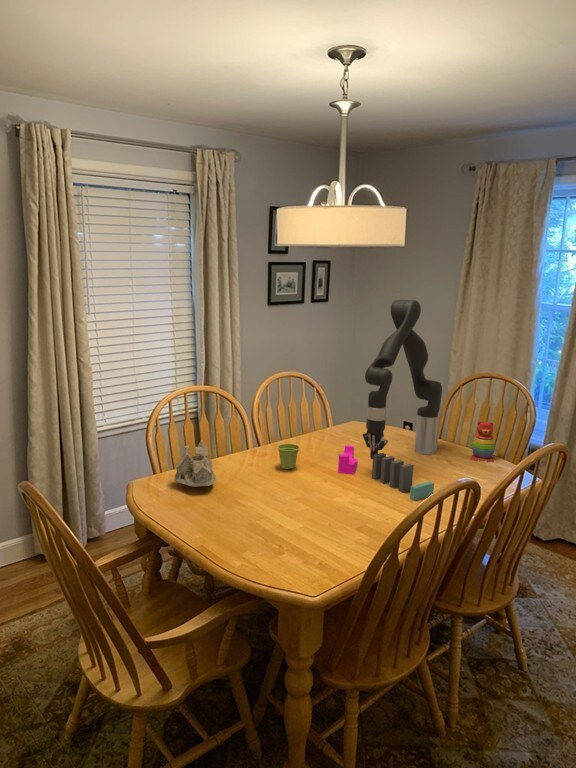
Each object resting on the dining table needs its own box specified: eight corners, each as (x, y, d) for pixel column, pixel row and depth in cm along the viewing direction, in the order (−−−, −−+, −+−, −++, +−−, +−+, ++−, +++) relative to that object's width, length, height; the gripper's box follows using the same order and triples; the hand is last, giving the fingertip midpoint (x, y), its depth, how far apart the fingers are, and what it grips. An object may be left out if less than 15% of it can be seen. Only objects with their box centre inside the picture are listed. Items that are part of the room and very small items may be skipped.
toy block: (353, 475, 228) (354, 457, 227) (338, 473, 230) (338, 455, 228) (359, 463, 242) (359, 446, 241) (344, 461, 244) (345, 445, 242)
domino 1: (371, 478, 224) (373, 454, 222) (380, 476, 227) (382, 452, 225) (374, 480, 223) (376, 456, 220) (384, 477, 225) (386, 454, 223)
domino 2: (380, 482, 220) (381, 458, 218) (389, 479, 223) (391, 456, 221) (383, 483, 219) (385, 459, 217) (393, 481, 222) (394, 457, 220)
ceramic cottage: (176, 474, 223) (175, 438, 220) (217, 474, 224) (217, 438, 221) (169, 489, 208) (168, 450, 205) (213, 490, 209) (213, 451, 206)
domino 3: (389, 486, 216) (390, 461, 214) (398, 484, 219) (400, 459, 217) (392, 488, 215) (394, 463, 213) (402, 485, 218) (404, 461, 216)
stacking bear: (468, 462, 246) (472, 423, 243) (469, 455, 256) (473, 418, 252) (494, 466, 243) (498, 426, 239) (495, 459, 252) (499, 420, 248)
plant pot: (273, 468, 233) (273, 448, 231) (282, 461, 241) (282, 442, 240) (294, 472, 229) (294, 451, 228) (302, 464, 238) (302, 445, 236)
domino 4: (398, 490, 212) (400, 465, 210) (407, 488, 215) (409, 463, 213) (402, 492, 211) (404, 467, 209) (411, 490, 214) (413, 465, 212)
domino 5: (429, 494, 210) (409, 499, 205) (430, 481, 209) (410, 486, 204) (433, 495, 209) (413, 501, 203) (434, 483, 208) (414, 488, 202)
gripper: (394, 420, 219) (392, 462, 223) (372, 412, 230) (369, 453, 233) (380, 422, 215) (377, 465, 219) (358, 414, 226) (355, 455, 229)
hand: (373, 459), depth 226 cm, fingers closed
